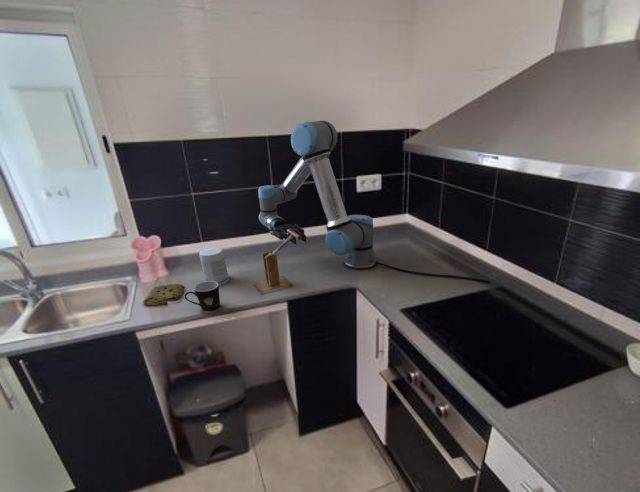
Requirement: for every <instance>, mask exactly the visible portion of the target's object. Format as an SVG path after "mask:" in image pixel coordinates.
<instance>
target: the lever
mask: <svg viewBox="0 0 640 492" xmlns="http://www.w3.org/2000/svg"><path fill="white" fill-rule="evenodd" d="M287 232H288V233H289V234H291V235H290V236H289V237H288V238H287V239H286V240H285V239H284V241H283V242H282V243H281V244H280V245H279V246H278V247H276V249H274V250H273V253H272V254H278V253H279V252H280V251H281V250H282V249H283V248H284V247H285V246H286V245H287V244H288V243H289V242H291V241H290V240H291V239H292V238H293V237H295V238H296V240H298V241H300V240H301V238H302V237H301V236H300V235H299V234H297V233H296V232H294V231H293V230H291V229H287ZM288 233H287V234H288ZM301 241H302V240H301ZM272 254H271V253H268V254H267V255H272ZM267 255H266V256H267ZM266 256H265V258H266Z"/></svg>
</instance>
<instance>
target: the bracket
mask: <svg viewBox="0 0 640 492" xmlns="http://www.w3.org/2000/svg"><path fill="white" fill-rule="evenodd" d="M273 252H274V250H269V251H264V252H261V256H262V263H263V270H264V277H265V278H264V279H263V280H259V281H255V282H254V284H255V286H256V287H257V288H258V289H259V290H260V291H261V292H266V291H267V292H268V291H270V290H271V291H272V290H275V289H279V288H283V287H286V286H291V285H293V283H292V282H291V281H289V280H288V279H287V278H286V277H285V276H284V275H280V273H279V272H280V271H279V264H278V263H279V262H278V255H277V254H278V253H276V254H272V253H273ZM268 253H271V254H272V255H267V254H268ZM266 255H267V256H266ZM265 256H266V258H265Z"/></svg>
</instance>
